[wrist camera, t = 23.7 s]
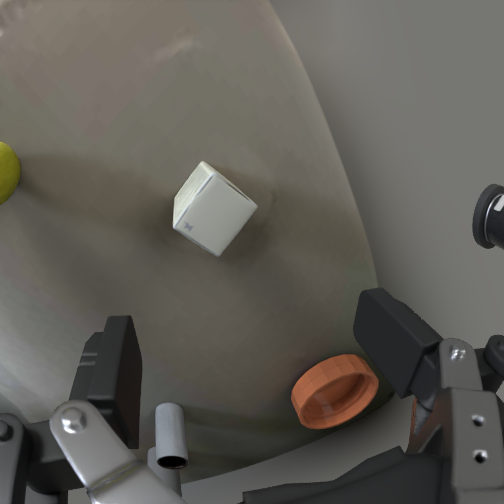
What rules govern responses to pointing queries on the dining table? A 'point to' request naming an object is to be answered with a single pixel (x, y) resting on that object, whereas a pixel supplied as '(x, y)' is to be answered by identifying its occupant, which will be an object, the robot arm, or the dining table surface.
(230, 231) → the box
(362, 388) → the bowl
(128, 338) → the robot arm
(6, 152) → the fruit
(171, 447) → the grey tube
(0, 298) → the dining table surface
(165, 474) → the bottle
